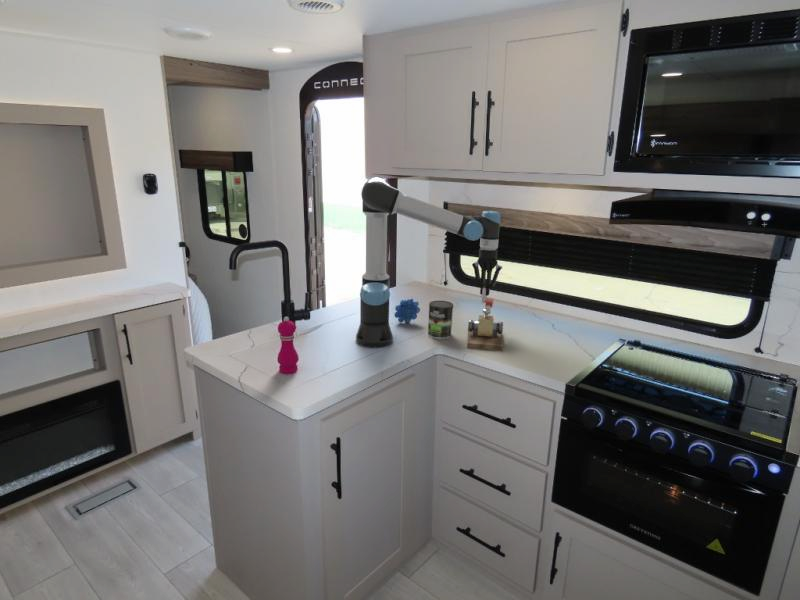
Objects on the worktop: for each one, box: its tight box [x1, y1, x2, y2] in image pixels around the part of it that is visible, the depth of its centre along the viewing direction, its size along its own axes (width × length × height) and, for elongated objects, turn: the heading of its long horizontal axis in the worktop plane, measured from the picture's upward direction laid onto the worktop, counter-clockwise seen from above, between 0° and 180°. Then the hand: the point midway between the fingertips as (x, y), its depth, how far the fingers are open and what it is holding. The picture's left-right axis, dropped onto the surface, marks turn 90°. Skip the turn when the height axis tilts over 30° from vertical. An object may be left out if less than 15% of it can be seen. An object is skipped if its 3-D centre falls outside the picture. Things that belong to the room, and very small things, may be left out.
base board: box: [466, 330, 504, 351], centre depth 204 cm, size 14×20×2 cm
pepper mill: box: [276, 316, 300, 375], centre depth 169 cm, size 7×7×20 cm
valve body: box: [467, 313, 504, 338], centre depth 203 cm, size 14×6×10 cm, turn 81°
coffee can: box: [427, 300, 454, 340], centre depth 207 cm, size 10×10×14 cm
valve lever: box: [482, 297, 495, 315], centre depth 207 cm, size 16×3×2 cm, turn 164°
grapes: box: [394, 297, 421, 324], centre depth 222 cm, size 12×7×12 cm, turn 90°
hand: (483, 302), depth 211 cm, fingers closed
